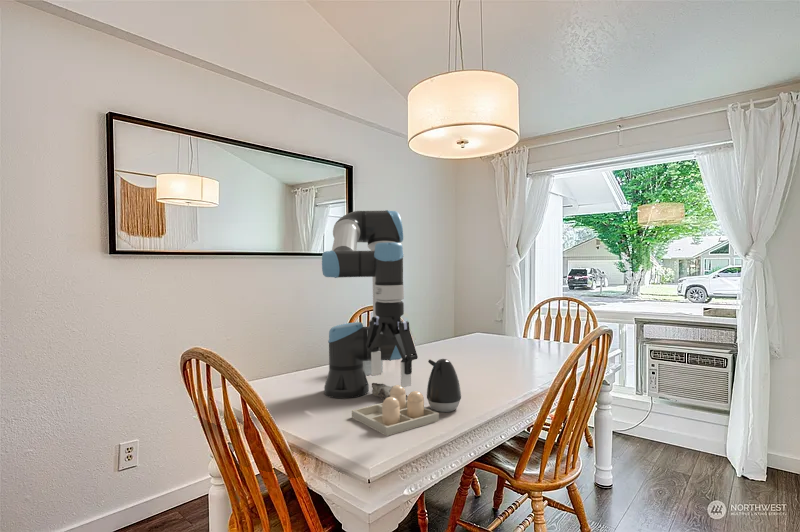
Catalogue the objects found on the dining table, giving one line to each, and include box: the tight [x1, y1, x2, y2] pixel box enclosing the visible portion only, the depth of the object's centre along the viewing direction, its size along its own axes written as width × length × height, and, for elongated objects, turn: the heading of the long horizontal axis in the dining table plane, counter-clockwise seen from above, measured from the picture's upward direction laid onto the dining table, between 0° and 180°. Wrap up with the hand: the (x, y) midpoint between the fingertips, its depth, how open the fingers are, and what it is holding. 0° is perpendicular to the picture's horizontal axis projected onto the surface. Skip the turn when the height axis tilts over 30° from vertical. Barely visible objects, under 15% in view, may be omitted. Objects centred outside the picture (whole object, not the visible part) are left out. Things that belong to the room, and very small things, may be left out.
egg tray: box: [351, 400, 440, 437], centre depth 124 cm, size 17×17×2 cm
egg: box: [382, 397, 400, 426], centre depth 118 cm, size 5×5×8 cm
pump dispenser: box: [426, 358, 462, 413], centre depth 132 cm, size 10×10×15 cm
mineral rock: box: [371, 382, 408, 401], centre depth 144 cm, size 15×8×4 cm, turn 31°
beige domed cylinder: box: [390, 384, 407, 410], centre depth 129 cm, size 5×5×8 cm
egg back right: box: [406, 390, 425, 419], centre depth 123 cm, size 5×5×8 cm
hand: (390, 380), depth 118 cm, fingers open, 13 cm apart
